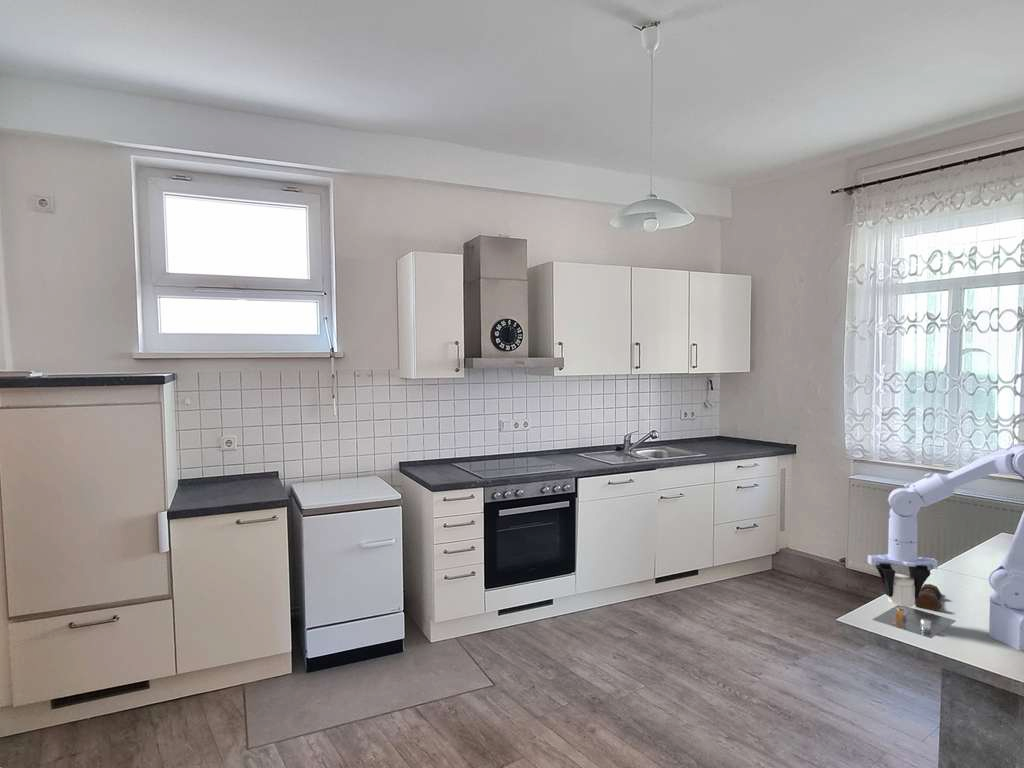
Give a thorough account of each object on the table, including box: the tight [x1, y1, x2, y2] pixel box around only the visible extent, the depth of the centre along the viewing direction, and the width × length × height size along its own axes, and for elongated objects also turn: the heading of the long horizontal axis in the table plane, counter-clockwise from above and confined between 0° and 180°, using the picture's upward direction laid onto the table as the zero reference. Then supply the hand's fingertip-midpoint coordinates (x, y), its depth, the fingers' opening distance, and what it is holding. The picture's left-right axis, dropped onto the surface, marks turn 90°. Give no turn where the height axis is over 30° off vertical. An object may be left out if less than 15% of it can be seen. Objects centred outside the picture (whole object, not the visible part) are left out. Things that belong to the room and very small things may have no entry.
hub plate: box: [871, 605, 957, 639], centre depth 139 cm, size 16×12×4 cm
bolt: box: [914, 583, 943, 613], centre depth 151 cm, size 6×5×15 cm
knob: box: [887, 573, 916, 608], centre depth 139 cm, size 5×5×6 cm
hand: (901, 596), depth 139 cm, fingers closed on knob, 5 cm apart
